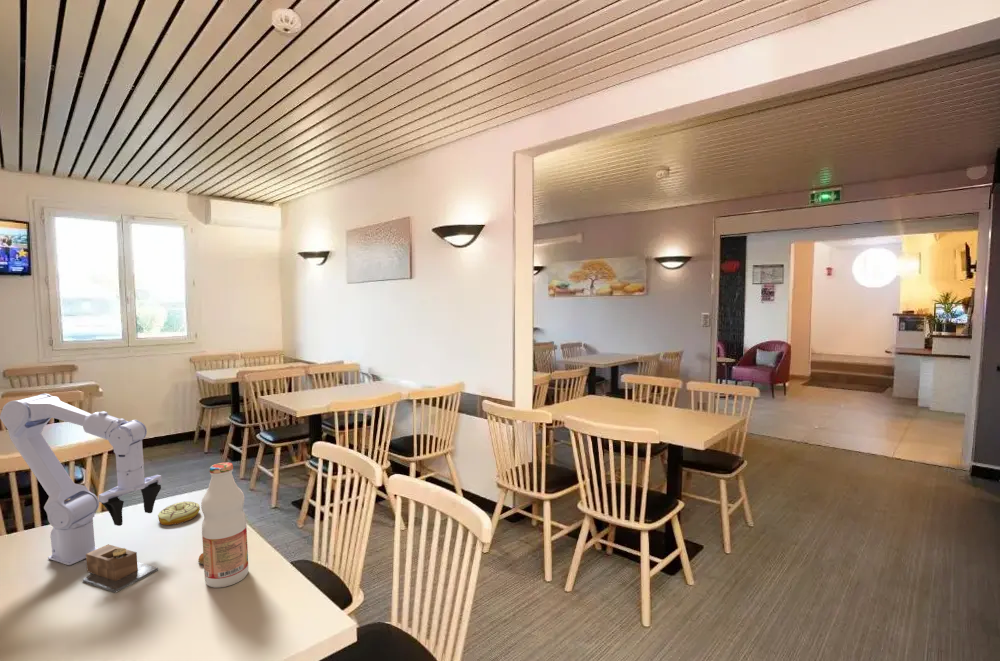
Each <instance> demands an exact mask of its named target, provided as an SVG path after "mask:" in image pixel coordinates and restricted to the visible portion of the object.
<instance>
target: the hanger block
mask: <svg viewBox="0 0 1000 661" xmlns="http://www.w3.org/2000/svg"><path fill="white" fill-rule="evenodd" d="M120 548H121V547H119V546H116V545H112V544H106V545H104V546H101V547H99V548H98V549H96V550H94V551H92V552H89V553H87V554H86V558H85V560H86V571H87V573H90V574H92V575H93V574H96V575H99V576H102V577H105V578H108V579H111V580H114V581H117V580H119V579H121V578H123V577H125V576H127V575H129V574H131V573H133V572H135V571H137V570H138V566H137V562H138V553H137V552H136V551H133V550H129V549H127V548H125V549H126V554H125V555H123V557H122V558H120V559H117V558H116V557H113V551H115V550H117V549H120Z"/></svg>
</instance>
